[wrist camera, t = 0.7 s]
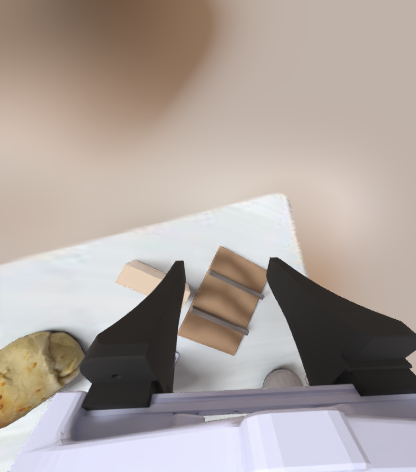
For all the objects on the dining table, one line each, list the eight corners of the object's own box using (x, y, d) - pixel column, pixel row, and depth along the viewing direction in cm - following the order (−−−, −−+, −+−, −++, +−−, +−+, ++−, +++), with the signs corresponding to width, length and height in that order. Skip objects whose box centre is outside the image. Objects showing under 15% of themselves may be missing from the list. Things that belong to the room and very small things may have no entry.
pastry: (-19, 383, 26) (-102, 446, 18) (22, 316, 27) (-38, 347, 19) (66, 401, 29) (25, 463, 21) (99, 339, 30) (73, 375, 22)
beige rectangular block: (180, 297, 34) (182, 309, 28) (126, 274, 31) (115, 282, 25) (187, 283, 34) (190, 292, 28) (134, 259, 32) (125, 264, 26)
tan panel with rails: (232, 352, 36) (236, 360, 34) (177, 332, 33) (178, 339, 31) (267, 271, 39) (273, 273, 36) (219, 246, 36) (223, 246, 34)
